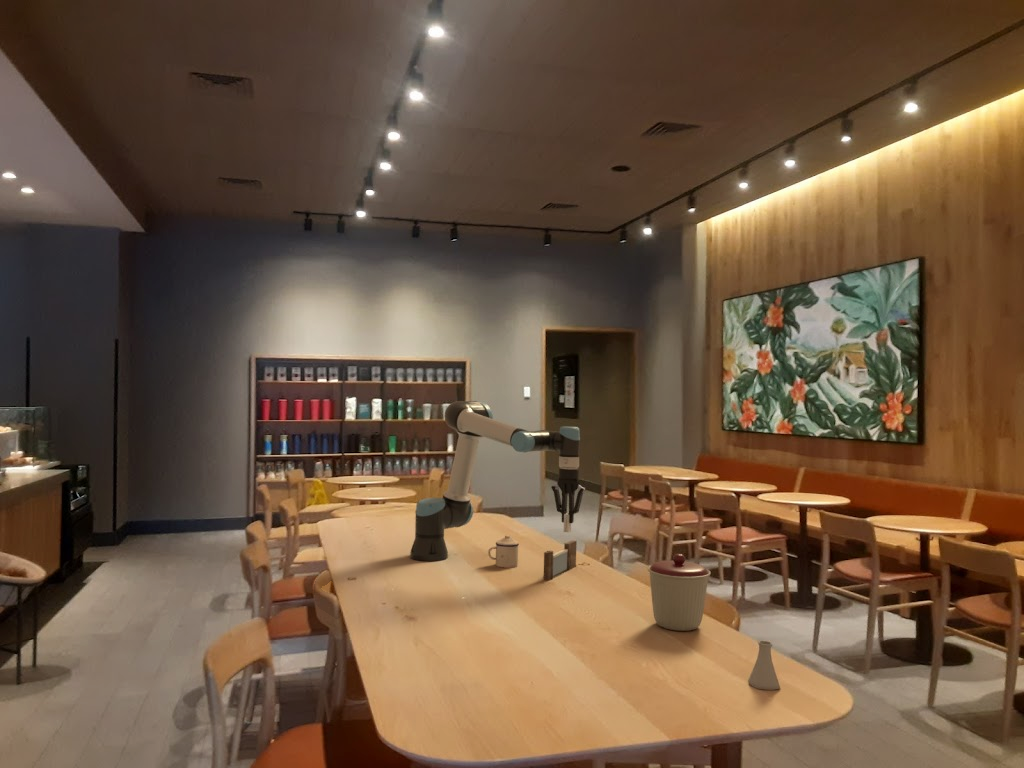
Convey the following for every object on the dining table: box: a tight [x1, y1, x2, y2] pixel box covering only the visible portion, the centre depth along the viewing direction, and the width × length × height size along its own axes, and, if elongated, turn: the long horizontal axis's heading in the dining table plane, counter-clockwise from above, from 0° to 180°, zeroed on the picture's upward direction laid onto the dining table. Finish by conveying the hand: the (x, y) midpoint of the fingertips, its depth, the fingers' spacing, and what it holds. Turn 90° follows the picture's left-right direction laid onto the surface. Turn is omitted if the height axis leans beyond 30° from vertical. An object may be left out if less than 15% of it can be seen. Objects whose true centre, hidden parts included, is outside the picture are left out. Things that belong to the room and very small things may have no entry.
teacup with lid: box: [487, 534, 520, 569], centre depth 297 cm, size 12×9×12 cm
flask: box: [747, 639, 781, 691], centre depth 179 cm, size 7×7×10 cm
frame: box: [542, 540, 577, 581], centre depth 287 cm, size 2×28×10 cm, turn 154°
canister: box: [647, 553, 711, 632], centre depth 224 cm, size 18×18×21 cm
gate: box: [553, 548, 568, 576], centre depth 286 cm, size 14×1×8 cm, turn 154°
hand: (567, 531), depth 283 cm, fingers closed
